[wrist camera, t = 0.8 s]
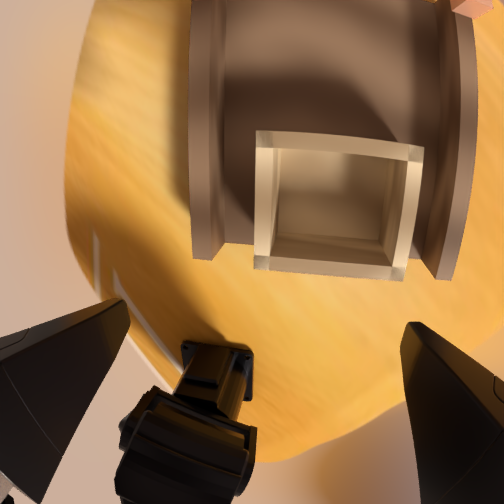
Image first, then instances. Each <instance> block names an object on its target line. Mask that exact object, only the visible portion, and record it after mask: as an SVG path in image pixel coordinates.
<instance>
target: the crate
mask: <svg viewBox="0 0 504 504" xmlns="http://www.w3.org/2000/svg"><path fill="white" fill-rule="evenodd" d="M423 157H424V147H420V146H415V145H410V144H404V143H399V142H392V141H385V140H378V139H370V138H362V137H354V136H344V135H334V134H322V133H309V132H292V131H256V166H255V225H254V269H259V270H270V271H281V272H292V273H303V274H315V275H327V276H339V277H351V278H363V279H376V280H389V281H403V279H404V275H405V270H406V266H407V261H408V257H409V252H410V247H411V242H412V237H413V231H414V226H415V220H416V214H417V207H418V200H419V193H420V185H421V177H422V168H423Z"/></svg>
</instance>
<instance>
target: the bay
mask: <svg viewBox="0 0 504 504" xmlns="http://www.w3.org/2000/svg"><path fill="white" fill-rule="evenodd" d="M492 9H493V5H492V0H437V1H436V2H435V3H430V2H427V1H423V0H192V6H191V22H190V43H189V74H188V161H189V194H190V217H191V236H192V252H193V259H202V260H213V258H214V257H215V255H216V254H217V253H218V251H219V250H220V249H221V247H222V246H223V245H224V243H237V244H249V245H254V225H255V166H256V131H292V132H309V133H322V134H334V135H344V136H354V137H362V138H370V139H378V140H385V141H392V142H399V143H404V144H410V145H415V146H420V147H424V157H423V168H422V177H421V185H420V193H419V200H418V207H417V214H416V220H415V226H414V231H413V237H412V242H411V247H410V252H409V257H408V258H411V259H421V260H422V261H423V263H424V264H425V265H426V267H427V268H428V270H429V271H430V272H431V274H432V275H433V277H434V278H435V279H436V280H450V281H451V280H452V277H453V273H454V269H455V266H456V262H457V258H458V254H459V250H460V246H461V242H462V237H463V233H464V228H465V223H466V218H467V213H468V207H469V201H470V195H471V188H472V181H473V173H474V165H475V155H476V142H477V124H478V77H477V60H476V48H475V38H474V30H473V23H472V19H476V18H478V17H480V16H481V15H483V14H485V13H487V12H488V11H490V10H492Z"/></svg>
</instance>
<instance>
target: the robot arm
mask: <svg viewBox="0 0 504 504" xmlns="http://www.w3.org/2000/svg"><path fill="white" fill-rule="evenodd" d="M129 327H130V317H129V313H128V308H127V304H126V302H125V301H124V300H123V299H117V298H113V299H110V300H107V301H104V302H101V303H99V304H96V305H93V306H90V307H87V308H84V309H82V310H79V311H76V312H73V313H70V314H67V315H64V316H62V317H59V318H56V319H53V320H51V321H48V322H45V323H42V324H39V325H36V326H33V327H31V328H28V329H25V330H22V331H19V332H16V333H13V334H10V335H7V336H4V337H1V338H0V504H14V499H13V497H11V496H10V495H9V494H8V493H9V491H10V490H11V488H12V487H13V486H14V487H15V488H17V489H18V490H19V491H20V492H22V493H23V494H24V495H25V496H27V497H28V498H30V499H31V500H32V501H34V502H35V503H37V504H40V503H41V502H42V500H43V498H44V495H45V493H46V491H47V489H48V487H49V484H50V482H51V480H52V478H53V476H54V473H55V471H56V470H57V467H58V465H59V463H60V461H61V459H62V456H63V455H64V453H65V451H66V449H67V447H68V445H69V443H70V441H71V439H72V437H73V435H74V433H75V431H76V429H77V427H78V425H79V424H80V422H81V420H82V418H83V416H84V414H85V412H86V410H87V408H88V407H89V405H90V403H91V401H92V399H93V397H94V396H95V394H96V392H97V390H98V388H99V387H100V385H101V383H102V381H103V379H104V378H105V376H106V374H107V373H108V371H109V369H110V367H111V366H112V364H113V362H114V360H115V358H116V356H117V354H118V351H119V349H120V347H121V345H122V343H123V340H124V338H125V336H126V334H127V332H128V329H129ZM185 345H186V346H187V347H186V346H185ZM181 353H182V359H183V364H184V372H183V374H182V376H181V378H180V380H179V382H178V384H177V386H176V388H175V389H174V391H173V393H172V395H171V394H169V393H167V392H165V391H163V390H161V389H160V388H159V387H157V386H155V385H154V386H153V387H152V388H151V390H150V391H147V392H146V394H143V396H142V398H141V399H140V401H139V402H138V404H137V405H136V407H135V408H134V409H133V410H132V411H131V412H130V413H129V414H128V415H127V416H126V417H124V418H123V419H122V420H121V422H120V423H119V430H120V432H121V436H120V443H119V449H120V450H122V451H124V455H123V457H122V459H121V461H120V464H119V466H118V468H117V471H116V476H115V478H114V482H115V491H116V494H117V495H119V496H120V499H121V504H231V502H232V500H233V497H234V496H237V497H238V496H240V495H241V494H242V493H243V491H244V490H245V488H246V486H247V484H248V482H249V480H250V478H251V474H252V472H253V468H254V463H255V454H256V440H257V427H254V426H248V425H245V424H242V423H239V422H237V418H238V415H239V411H240V408H241V404H242V401H251V400H252V397H253V370H254V354H253V352H251V351H249V350H242V349H235V348H228V347H222V346H215V345H209V344H203V343H197V342H192V341H183V342H182V344H181ZM246 355H247V356H249V357H247V356H246ZM400 355H401V363H402V372H403V382H404V392H405V397H406V402H407V407H408V413H409V417H410V423H411V429H412V435H413V440H414V448H415V455H416V461H417V469H418V478H419V488H420V498H421V504H504V382H503V381H502V380H501V379H500V378H498V377H497V376H494V374H493V373H491V372H490V371H489V370H487V369H486V368H485V367H483V366H482V365H480V364H479V363H478V362H476V361H475V360H474V359H472V358H471V357H469V356H468V355H467V354H465V353H464V352H463V351H461V350H460V349H458V348H457V347H456V346H454V345H453V344H451V343H450V342H449V341H447V340H446V339H444V338H443V337H441V336H440V335H439V334H437V333H436V332H434V331H433V330H431V329H430V328H428V327H427V326H426V325H424V324H423V323H421V322H408V323H407V325H406V327H405V331H404V334H403V338H402V341H401V345H400Z"/></svg>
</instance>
